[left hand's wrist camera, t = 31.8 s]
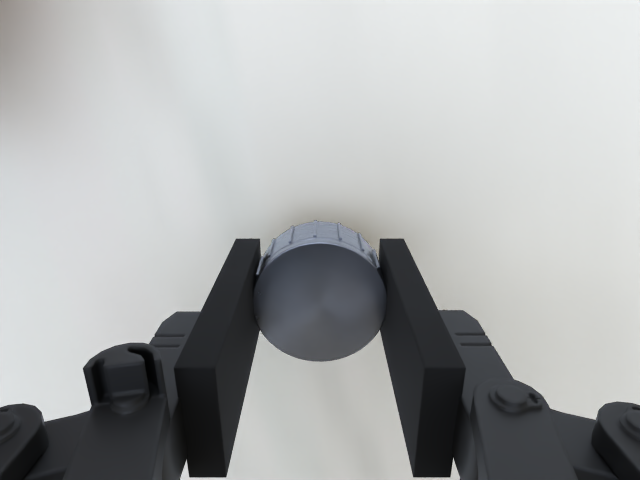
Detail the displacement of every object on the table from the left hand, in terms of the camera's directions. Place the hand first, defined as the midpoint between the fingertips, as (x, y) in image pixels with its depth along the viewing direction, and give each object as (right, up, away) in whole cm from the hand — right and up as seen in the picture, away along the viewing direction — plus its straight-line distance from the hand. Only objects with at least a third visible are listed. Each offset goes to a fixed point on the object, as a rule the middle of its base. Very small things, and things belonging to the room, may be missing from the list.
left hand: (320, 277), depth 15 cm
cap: (0, -1, -2) cm, 2 cm away
